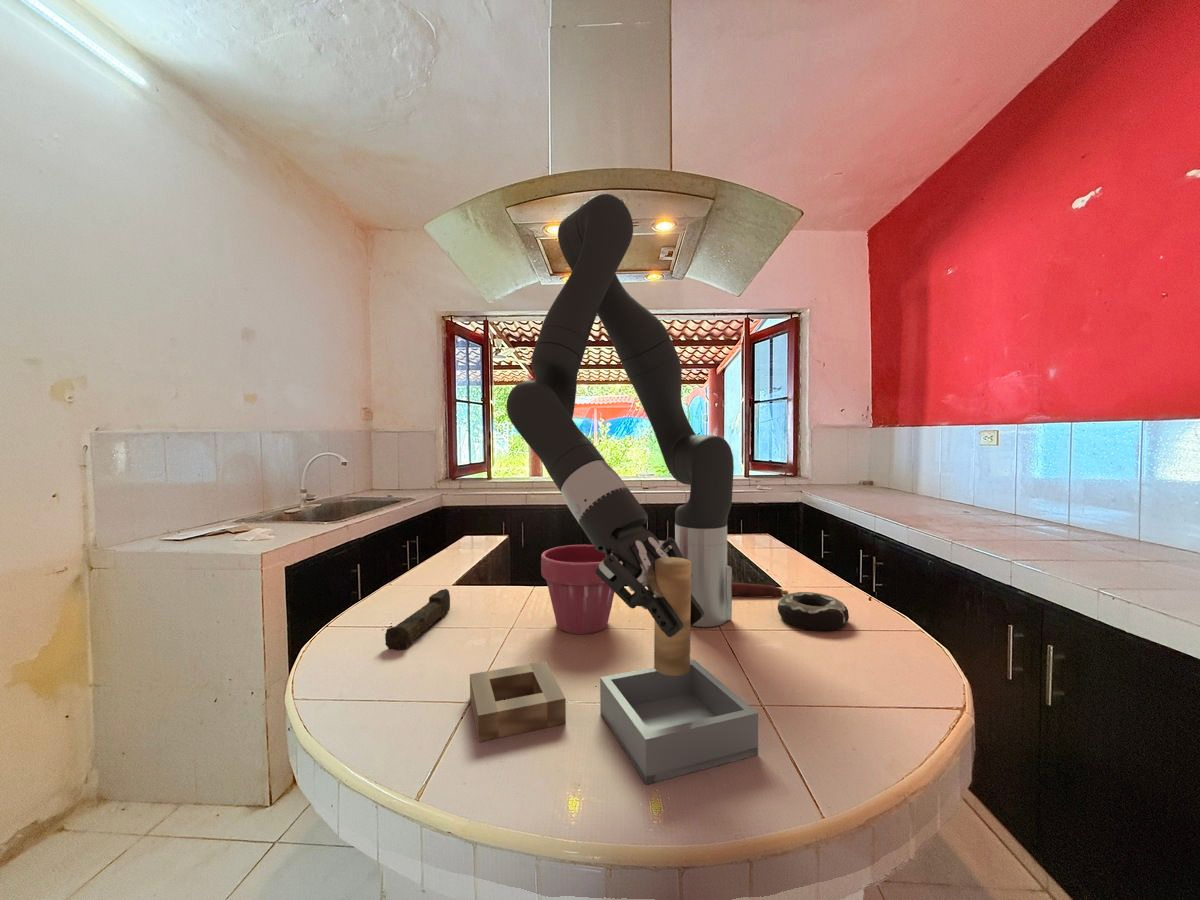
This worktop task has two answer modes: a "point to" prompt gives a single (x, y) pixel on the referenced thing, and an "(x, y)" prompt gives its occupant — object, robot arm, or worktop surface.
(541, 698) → the socket block
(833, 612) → the donut
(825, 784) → the worktop surface
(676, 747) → the tray
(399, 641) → the hand tool
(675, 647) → the dowel
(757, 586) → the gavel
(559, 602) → the plant pot
